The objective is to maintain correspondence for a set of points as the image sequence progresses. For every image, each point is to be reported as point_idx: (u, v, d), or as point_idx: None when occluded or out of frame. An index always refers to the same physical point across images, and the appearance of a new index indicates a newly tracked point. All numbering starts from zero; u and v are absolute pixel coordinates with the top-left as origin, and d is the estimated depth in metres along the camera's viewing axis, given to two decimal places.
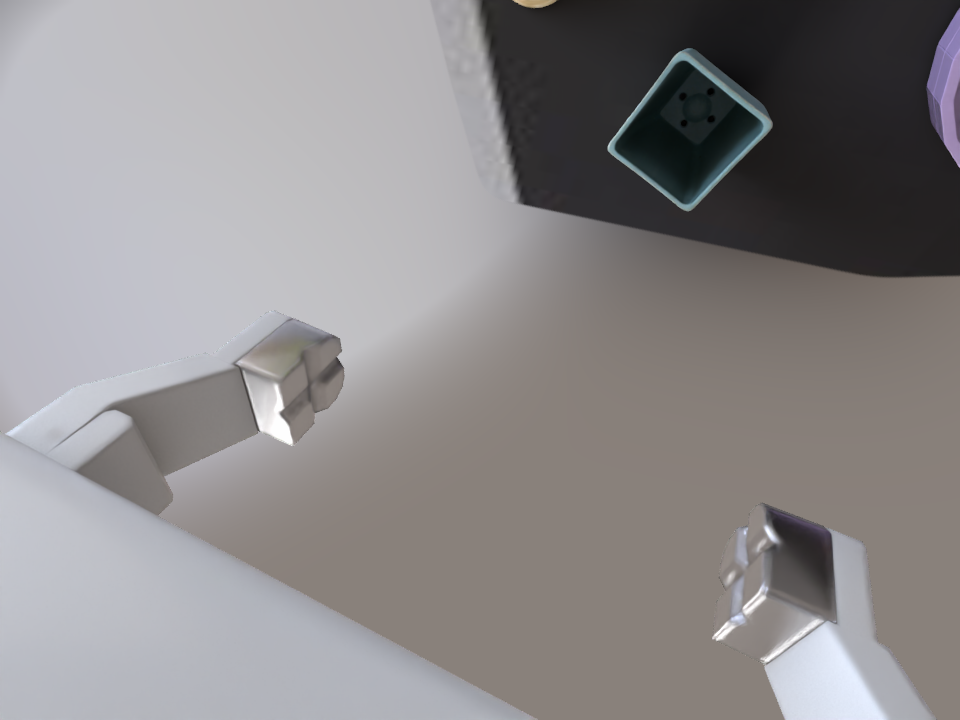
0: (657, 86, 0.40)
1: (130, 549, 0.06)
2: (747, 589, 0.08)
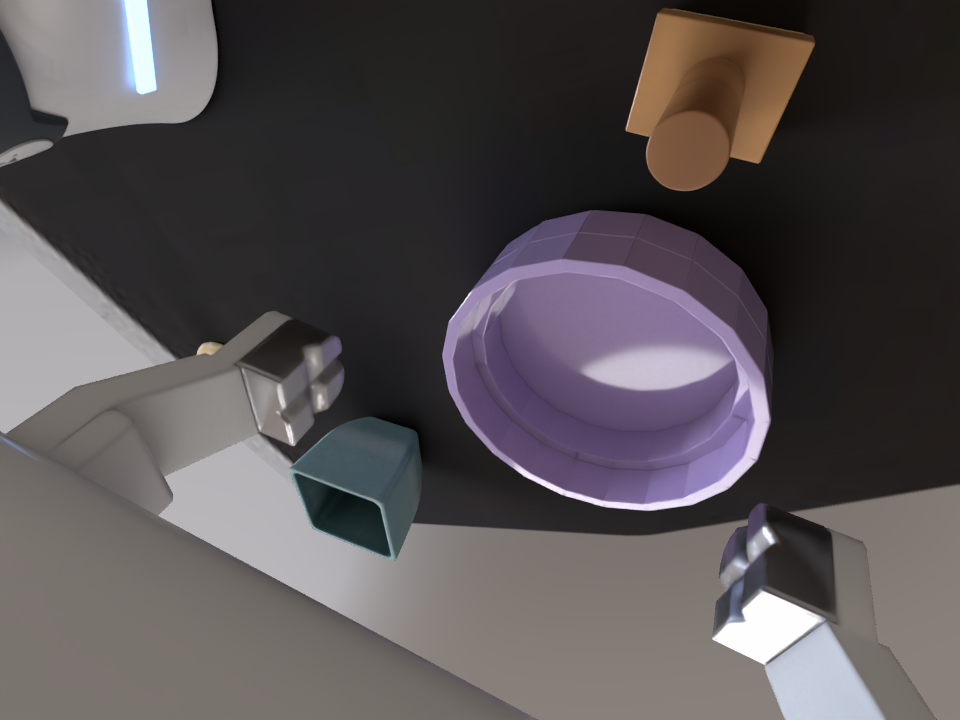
0: (298, 489, 0.44)
1: (130, 549, 0.06)
2: (747, 589, 0.08)
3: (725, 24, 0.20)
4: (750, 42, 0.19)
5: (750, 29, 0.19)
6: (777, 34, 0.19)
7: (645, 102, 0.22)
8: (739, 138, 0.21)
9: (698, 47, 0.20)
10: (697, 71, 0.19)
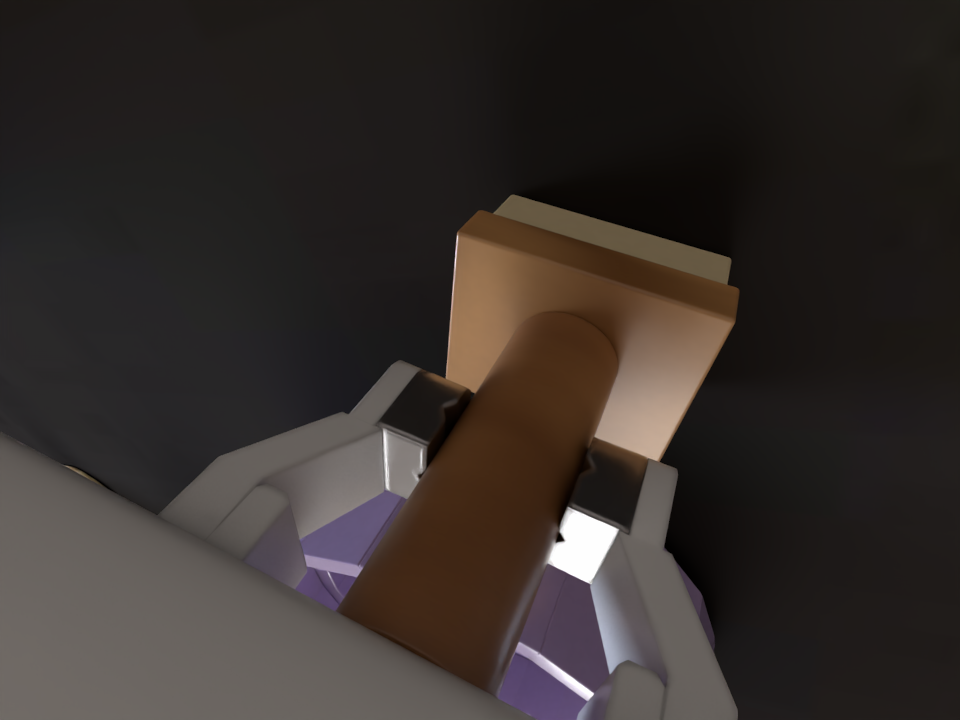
0: None
1: (130, 549, 0.06)
2: (565, 510, 0.08)
3: (573, 264, 0.10)
4: (618, 300, 0.10)
5: (617, 279, 0.10)
6: (666, 294, 0.10)
7: (466, 351, 0.13)
8: (620, 427, 0.12)
9: (531, 292, 0.11)
10: (509, 367, 0.10)
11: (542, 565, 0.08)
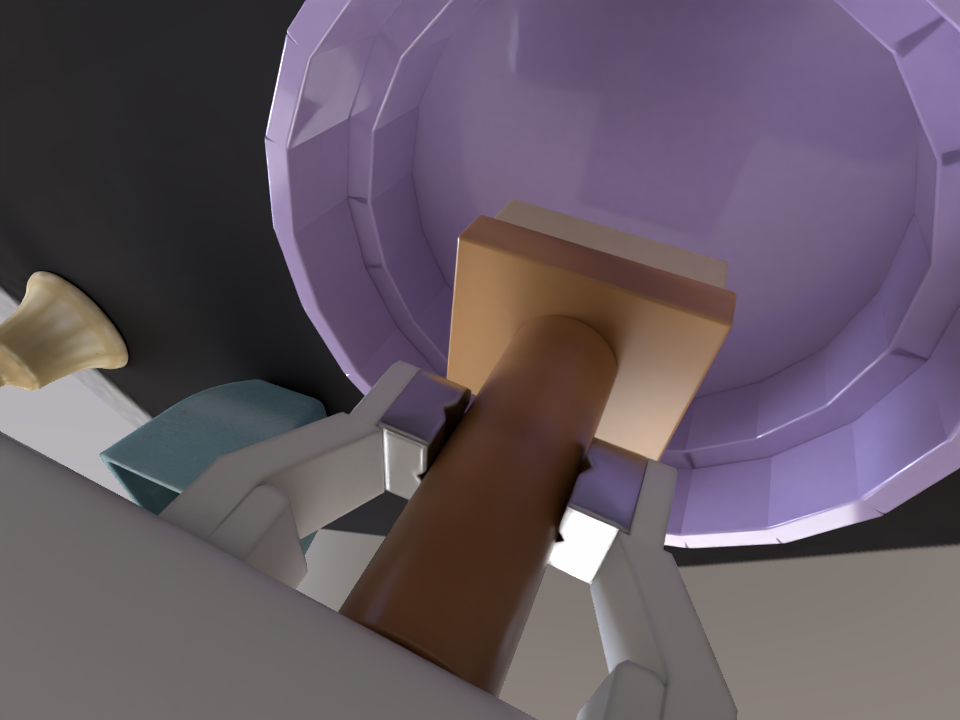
0: (125, 486, 0.28)
1: (130, 549, 0.06)
2: (565, 510, 0.08)
3: (572, 269, 0.11)
4: (617, 304, 0.10)
5: (616, 283, 0.10)
6: (664, 298, 0.10)
7: (466, 354, 0.13)
8: (619, 429, 0.12)
9: (531, 296, 0.11)
10: (510, 370, 0.10)
11: (542, 565, 0.08)
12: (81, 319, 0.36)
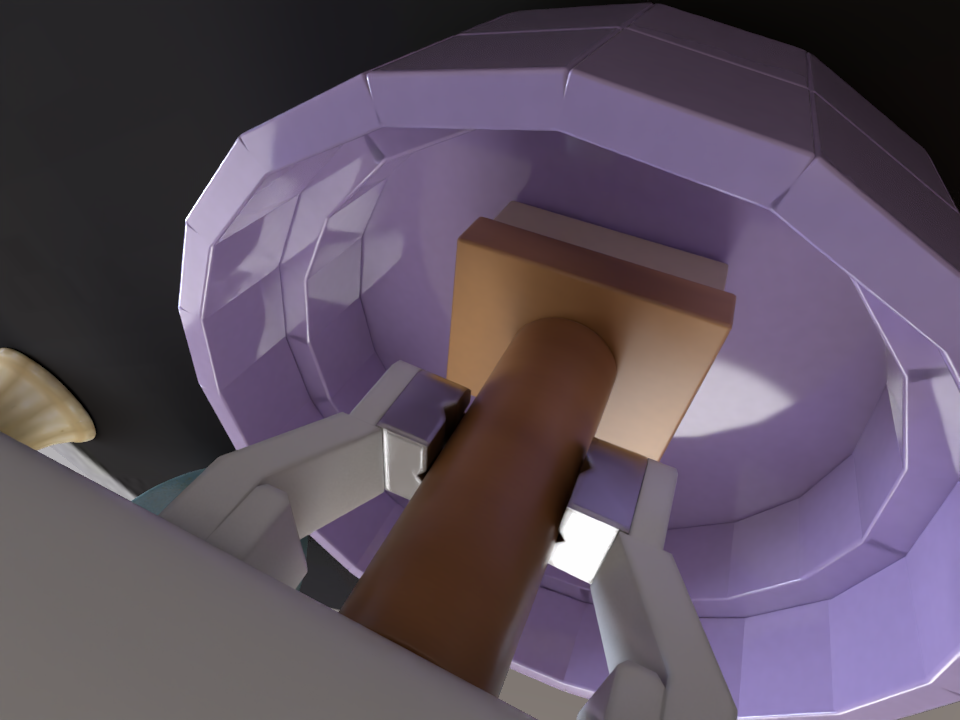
0: None
1: (130, 549, 0.06)
2: (565, 510, 0.08)
3: (572, 271, 0.11)
4: (617, 306, 0.10)
5: (615, 285, 0.10)
6: (663, 300, 0.10)
7: (465, 355, 0.13)
8: (619, 431, 0.12)
9: (530, 298, 0.11)
10: (509, 372, 0.10)
11: (541, 568, 0.08)
12: (45, 398, 0.35)
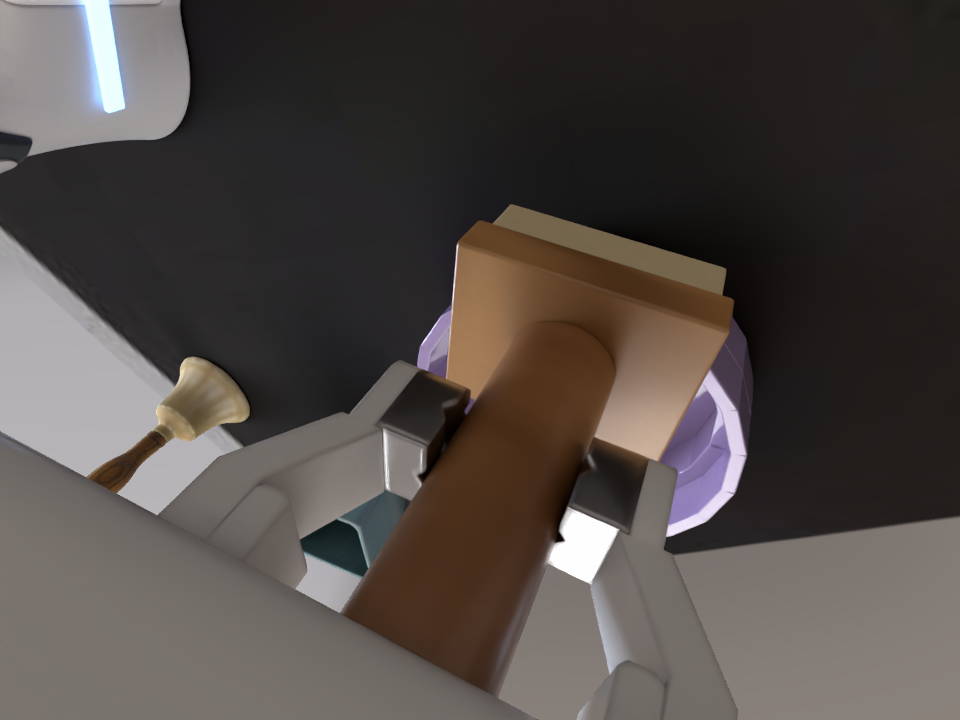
0: None
1: (130, 549, 0.06)
2: (565, 510, 0.08)
3: (571, 275, 0.11)
4: (615, 311, 0.11)
5: (614, 290, 0.10)
6: (662, 304, 0.10)
7: (465, 359, 0.13)
8: (617, 434, 0.12)
9: (530, 302, 0.11)
10: (508, 376, 0.10)
11: (540, 571, 0.08)
12: (223, 391, 0.52)
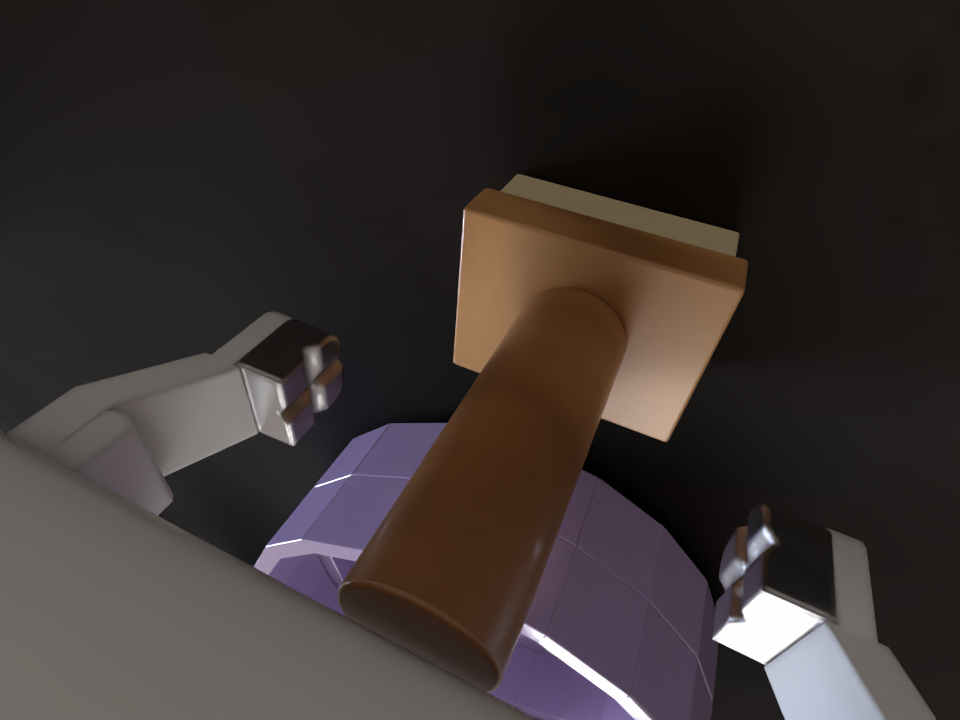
0: None
1: (130, 549, 0.06)
2: (747, 589, 0.08)
3: (580, 238, 0.10)
4: (626, 273, 0.10)
5: (624, 251, 0.10)
6: (674, 265, 0.10)
7: (473, 331, 0.13)
8: (629, 404, 0.12)
9: (538, 268, 0.11)
10: (518, 340, 0.10)
11: (553, 531, 0.08)
12: None
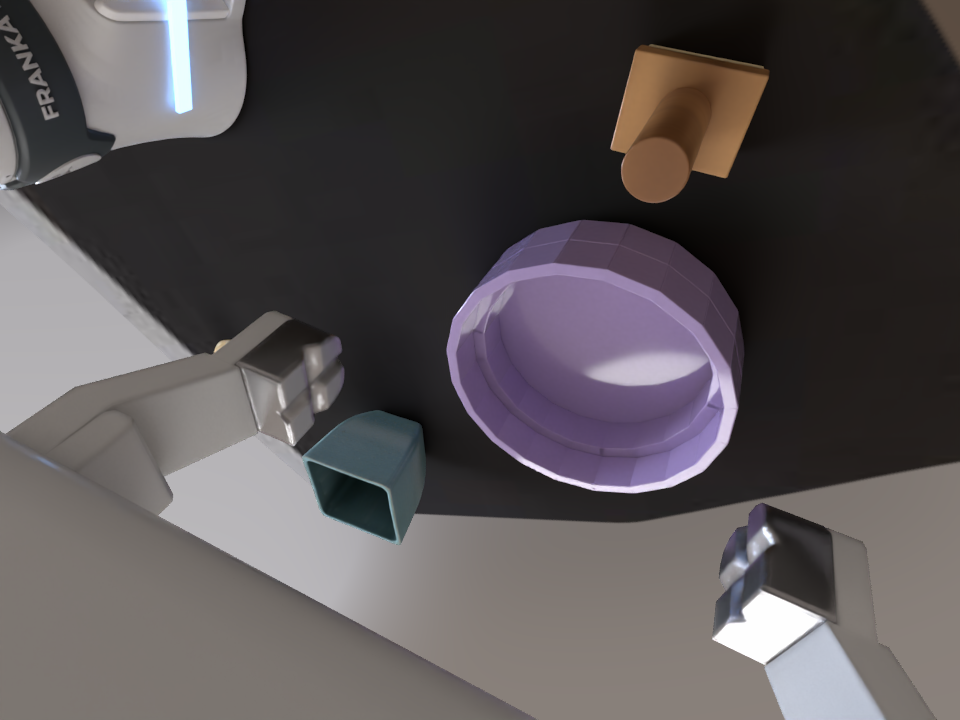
0: (310, 476, 0.47)
1: (130, 549, 0.06)
2: (747, 589, 0.08)
3: (693, 60, 0.23)
4: (714, 75, 0.23)
5: (714, 64, 0.23)
6: (737, 69, 0.22)
7: (627, 124, 0.25)
8: (708, 156, 0.25)
9: (670, 78, 0.23)
10: (668, 100, 0.22)
11: (697, 150, 0.20)
12: None
